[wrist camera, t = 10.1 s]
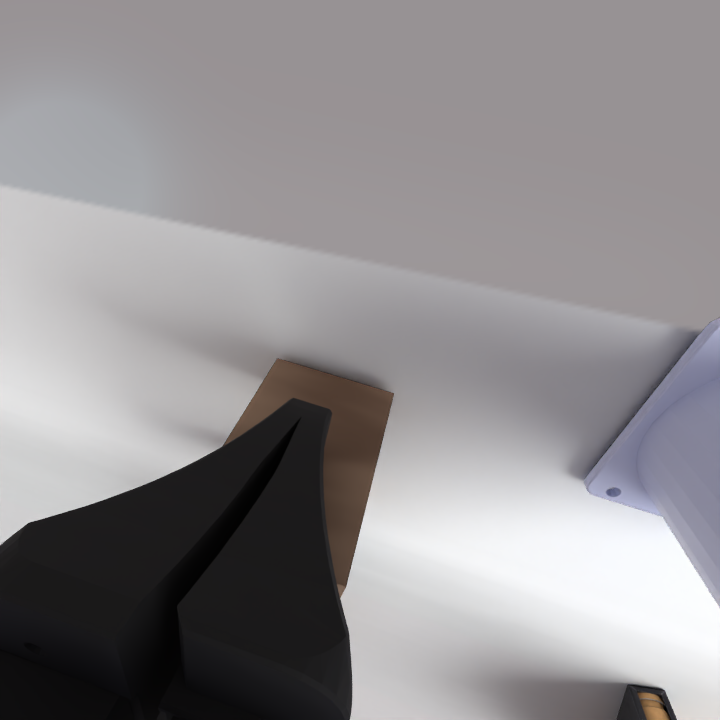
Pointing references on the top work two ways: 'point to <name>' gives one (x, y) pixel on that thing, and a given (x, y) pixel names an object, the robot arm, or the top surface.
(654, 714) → the ammunition clip
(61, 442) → the top surface
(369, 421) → the walnut domino
